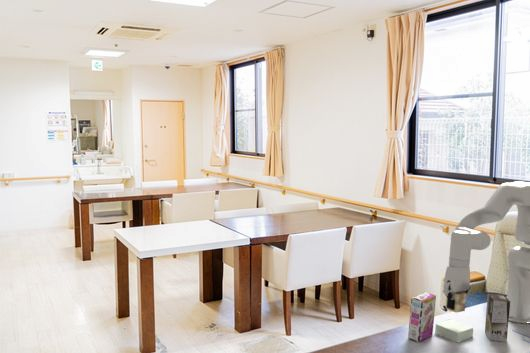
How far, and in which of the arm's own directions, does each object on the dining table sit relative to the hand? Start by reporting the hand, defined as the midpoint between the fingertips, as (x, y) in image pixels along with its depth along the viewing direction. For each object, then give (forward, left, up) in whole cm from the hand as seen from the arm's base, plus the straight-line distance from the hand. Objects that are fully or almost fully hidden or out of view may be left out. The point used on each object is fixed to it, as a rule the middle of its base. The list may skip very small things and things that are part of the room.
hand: (455, 307), depth 195 cm
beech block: (0, 0, -1) cm, 1 cm away
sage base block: (0, 0, -12) cm, 12 cm away
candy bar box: (+14, -4, -11) cm, 18 cm away
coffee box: (-14, +9, -11) cm, 20 cm away
